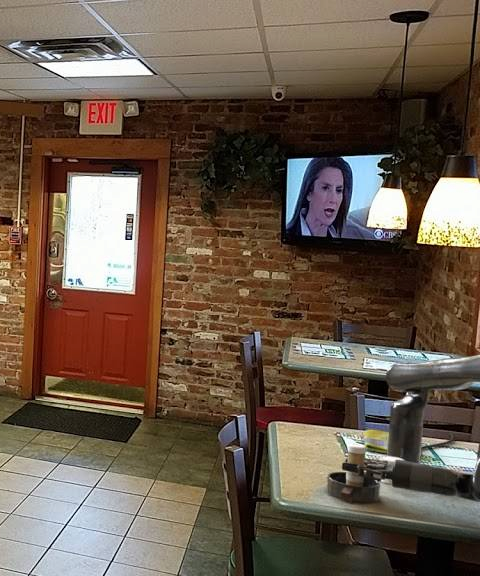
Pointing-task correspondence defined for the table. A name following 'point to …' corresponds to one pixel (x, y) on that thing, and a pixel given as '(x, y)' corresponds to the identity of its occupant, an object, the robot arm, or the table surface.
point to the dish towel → (376, 440)
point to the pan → (360, 494)
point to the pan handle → (347, 494)
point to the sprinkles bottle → (355, 457)
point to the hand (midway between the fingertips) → (344, 463)
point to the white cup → (390, 462)
